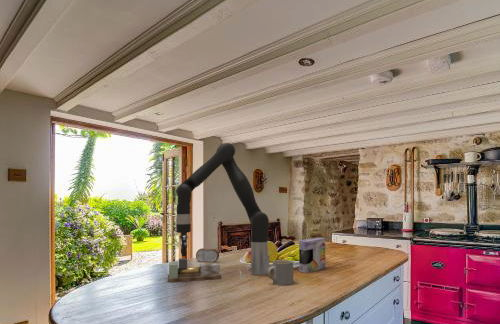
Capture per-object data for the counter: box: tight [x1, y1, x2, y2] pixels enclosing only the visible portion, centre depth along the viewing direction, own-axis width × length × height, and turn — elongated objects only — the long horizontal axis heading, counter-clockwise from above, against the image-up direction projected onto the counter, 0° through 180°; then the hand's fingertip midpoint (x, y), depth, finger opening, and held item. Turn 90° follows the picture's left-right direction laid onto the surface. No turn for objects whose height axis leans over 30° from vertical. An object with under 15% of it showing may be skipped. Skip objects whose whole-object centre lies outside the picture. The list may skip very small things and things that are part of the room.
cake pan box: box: [298, 236, 326, 274], centre depth 194 cm, size 19×5×18 cm, turn 129°
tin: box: [195, 247, 220, 263], centre depth 219 cm, size 15×3×8 cm, turn 84°
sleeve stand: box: [167, 262, 222, 283], centre depth 176 cm, size 26×10×6 cm, turn 104°
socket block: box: [168, 261, 179, 279], centre depth 173 cm, size 4×8×6 cm, turn 14°
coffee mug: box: [266, 259, 294, 286], centre depth 167 cm, size 13×10×10 cm
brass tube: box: [178, 257, 201, 275], centre depth 176 cm, size 17×4×8 cm, turn 104°
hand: (183, 254), depth 175 cm, fingers open, 8 cm apart
